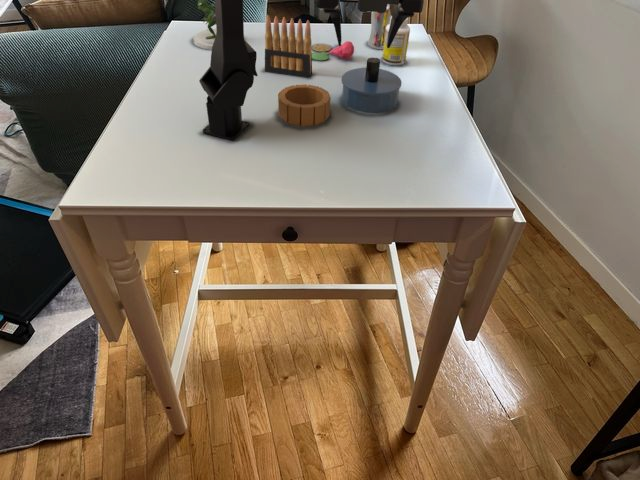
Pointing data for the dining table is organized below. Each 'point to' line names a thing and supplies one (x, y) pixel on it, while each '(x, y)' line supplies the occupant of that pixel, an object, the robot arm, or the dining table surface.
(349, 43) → the toy pieces
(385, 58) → the supplement bottle
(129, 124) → the dining table surface
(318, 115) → the brown grooved ring
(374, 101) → the pot
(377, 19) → the clear pen holder cup
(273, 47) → the ammunition clip
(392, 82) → the pot lid
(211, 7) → the monster figurine
